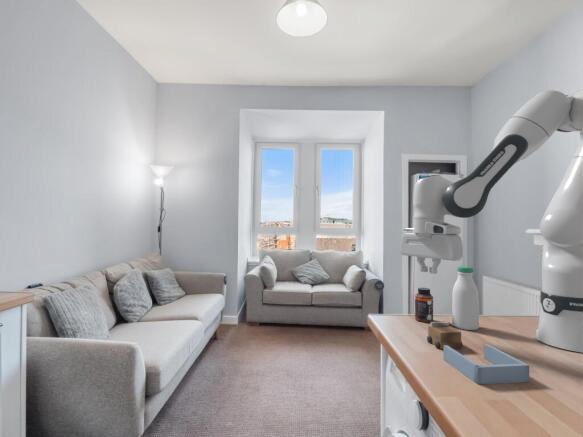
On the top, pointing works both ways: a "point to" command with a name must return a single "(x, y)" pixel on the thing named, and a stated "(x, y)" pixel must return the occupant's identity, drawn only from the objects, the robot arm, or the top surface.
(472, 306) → the milk bottle
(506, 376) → the bay
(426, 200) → the robot arm
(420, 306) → the supplement bottle
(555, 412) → the top surface
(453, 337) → the wooden toy wagon
